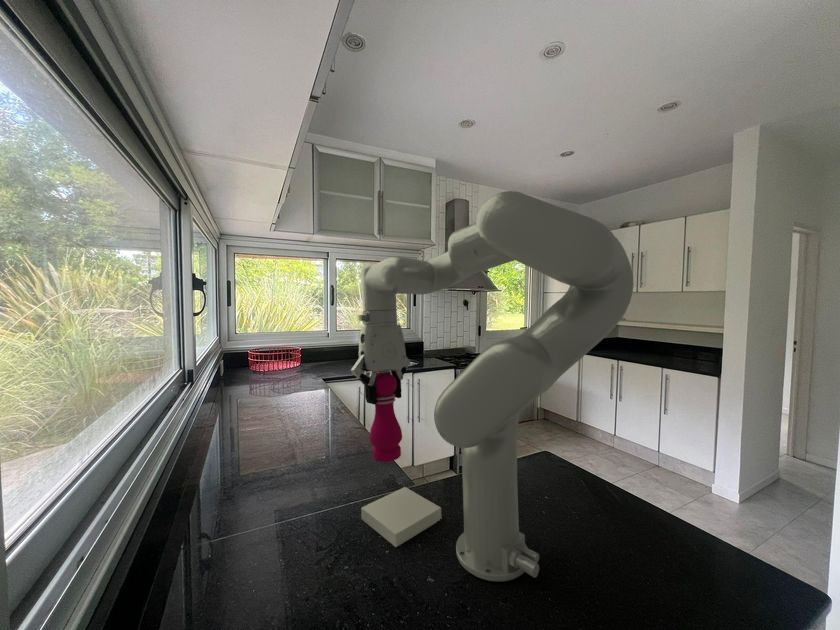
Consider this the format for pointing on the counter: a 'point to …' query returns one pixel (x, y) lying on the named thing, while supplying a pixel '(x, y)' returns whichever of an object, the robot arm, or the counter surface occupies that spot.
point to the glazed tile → (400, 515)
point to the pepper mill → (385, 421)
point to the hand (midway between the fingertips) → (384, 399)
